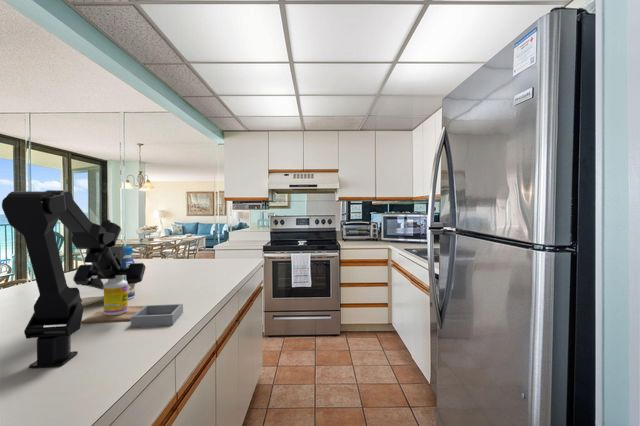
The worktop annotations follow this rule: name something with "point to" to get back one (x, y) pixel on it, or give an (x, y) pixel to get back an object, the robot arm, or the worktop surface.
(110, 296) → the supplement bottle
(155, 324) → the bin
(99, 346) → the worktop surface
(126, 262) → the beverage bottle
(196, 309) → the worktop surface
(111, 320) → the tan cardboard sheet
